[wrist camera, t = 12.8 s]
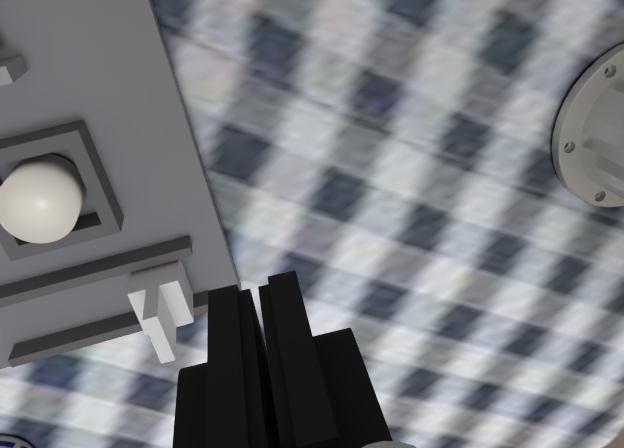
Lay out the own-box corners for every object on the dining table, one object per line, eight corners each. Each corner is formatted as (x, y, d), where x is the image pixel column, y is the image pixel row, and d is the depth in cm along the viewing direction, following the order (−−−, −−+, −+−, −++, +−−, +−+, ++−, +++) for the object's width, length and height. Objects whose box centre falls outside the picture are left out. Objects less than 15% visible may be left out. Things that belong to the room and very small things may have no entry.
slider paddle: (178, 253, 35) (177, 310, 29) (193, 293, 36) (194, 354, 31) (131, 265, 34) (122, 326, 29) (148, 305, 36) (142, 369, 31)
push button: (70, 146, 30) (59, 165, 28) (97, 208, 32) (89, 232, 29) (-3, 164, 30) (-21, 185, 27) (29, 226, 32) (15, 251, 29)
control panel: (116, -114, 27) (103, -124, 23) (240, 284, 39) (247, 327, 35) (-241, -40, 26) (-327, -37, 21) (3, 350, 38) (-20, 403, 34)
